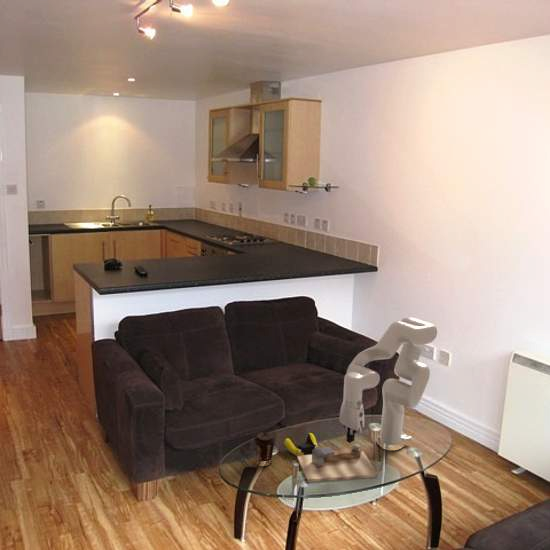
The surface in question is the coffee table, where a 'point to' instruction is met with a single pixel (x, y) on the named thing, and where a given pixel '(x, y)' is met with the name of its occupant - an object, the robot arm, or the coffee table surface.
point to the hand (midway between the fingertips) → (350, 441)
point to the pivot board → (337, 468)
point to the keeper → (321, 455)
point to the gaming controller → (302, 446)
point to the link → (344, 455)
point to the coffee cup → (264, 446)
